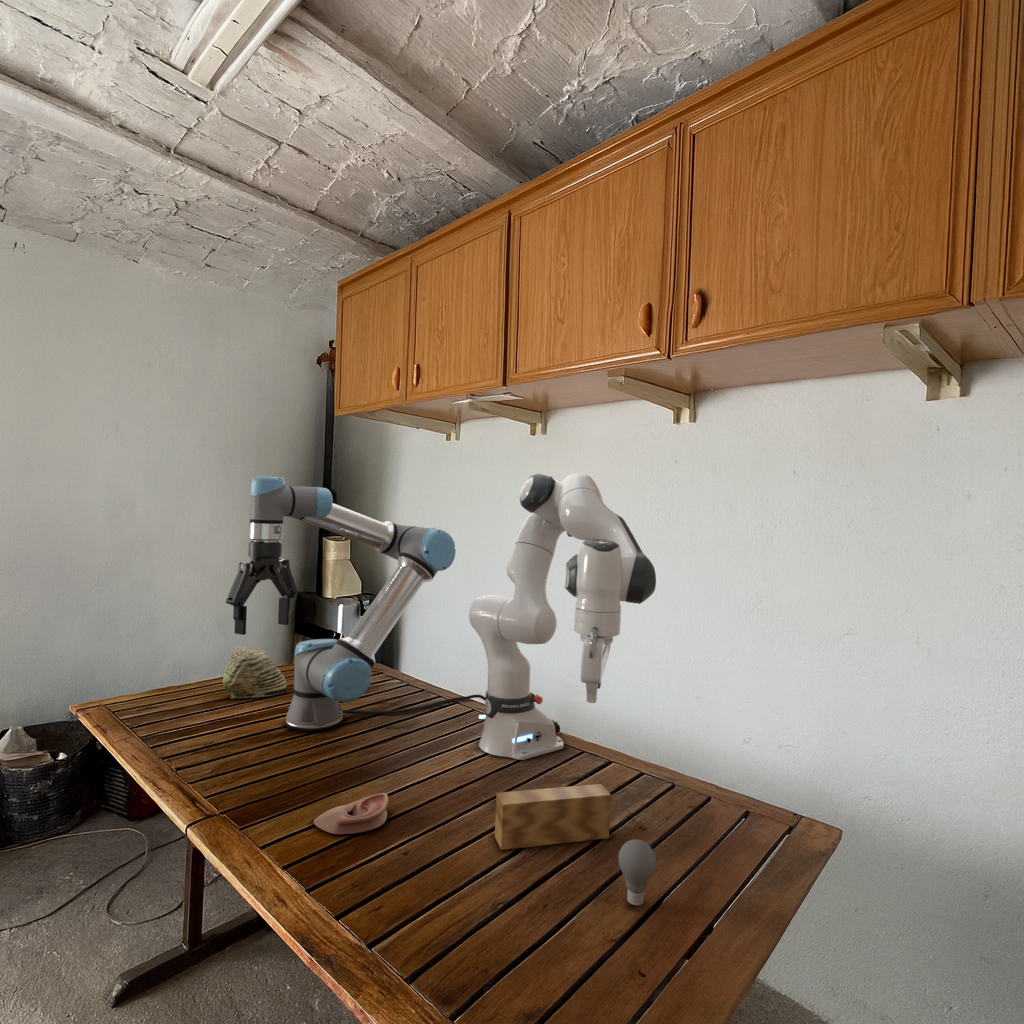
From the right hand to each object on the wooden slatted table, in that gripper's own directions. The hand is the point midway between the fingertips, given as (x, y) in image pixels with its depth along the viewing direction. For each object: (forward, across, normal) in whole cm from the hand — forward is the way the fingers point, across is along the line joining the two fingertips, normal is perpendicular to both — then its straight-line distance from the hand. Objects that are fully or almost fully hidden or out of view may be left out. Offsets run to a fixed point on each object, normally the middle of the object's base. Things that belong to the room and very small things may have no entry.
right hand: (594, 694), depth 123 cm
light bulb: (+27, -20, -10) cm, 35 cm away
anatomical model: (+27, -10, +45) cm, 54 cm away
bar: (+27, -3, +6) cm, 28 cm away
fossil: (+27, +52, +110) cm, 124 cm away
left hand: (-3, +12, +81) cm, 82 cm away
